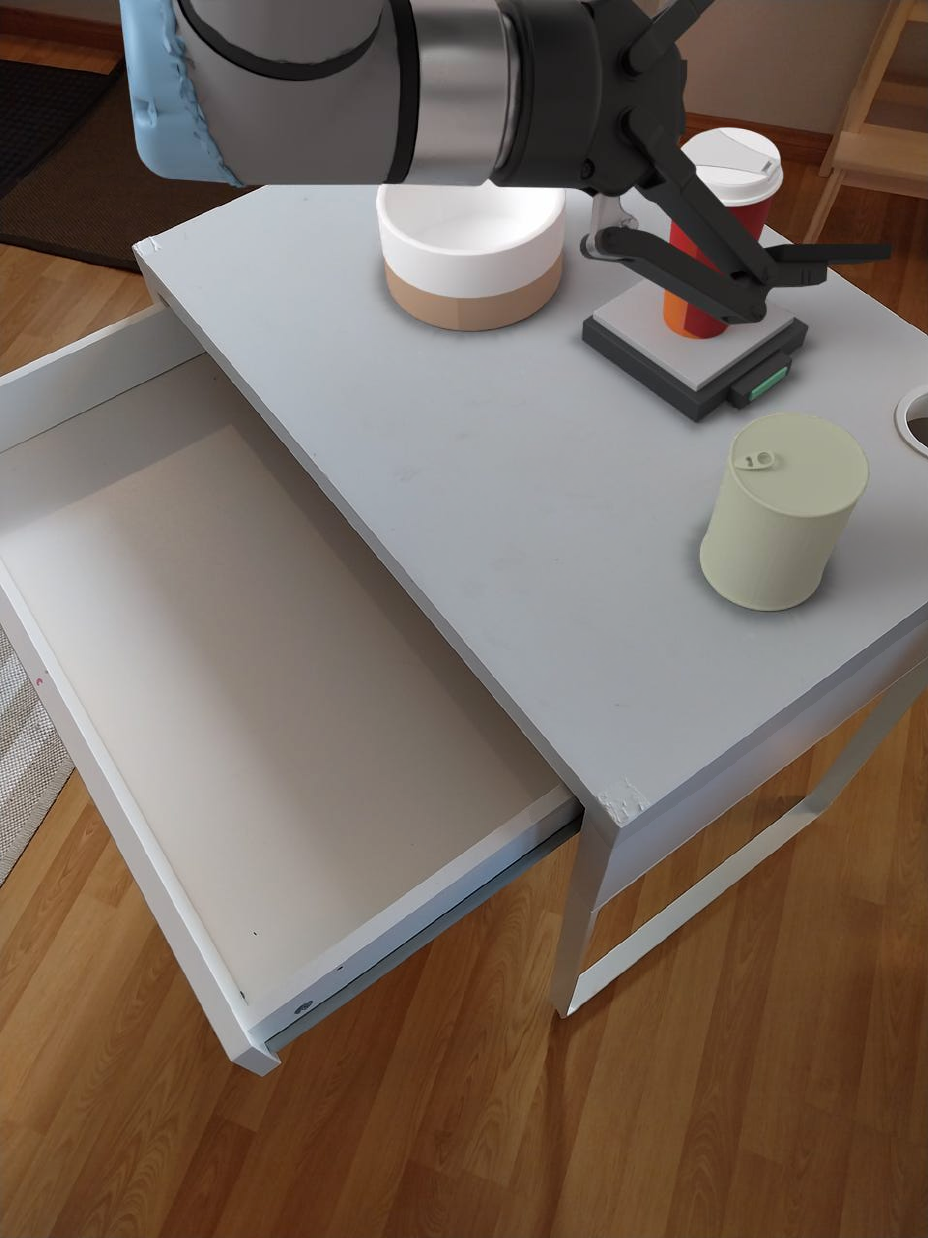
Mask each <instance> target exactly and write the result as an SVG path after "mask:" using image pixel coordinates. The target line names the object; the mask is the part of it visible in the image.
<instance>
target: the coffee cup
mask: <svg viewBox="0 0 928 1238" xmlns="http://www.w3.org/2000/svg"><path fill="white" fill-rule="evenodd" d="M680 149H681V150H682V151H683V152H684V153H685V154H686V155H687V156H688V158H689V159H690V160H691V161H692V162H693V163H694V165H695V166H696V169H697V170H696V174H697V176H698V177H699V178H700V179H701V180H702V181H703V182H704V183H705V185H706V186H707V187H708V188H709V189H710V190H711V191H712V192H713V193H714V194H715V196H716V197H717V198H718V199H719V200H720V201H721V202H722V203H723V204H724V205H725V207H726V208H727V209H728V210H729V211H730V212H731V213H732V214H733V215H734V216H735V217H736V219H737V220H738V221H739V222H740V223H741V224H742V225H743V226H744V227H745V228H746V230H747V231H748V232H749V233H750V234H751V235H752V236H753V237H754V238H755V239H756V241H757V242H758V243H759V241H760V238H761V236H762V232H763V230H764V227H765V224H766V222H767V217H768V214H769V211H770V209H771V205H772V201H773V199H774V195H775V193H776V192H777V191H778V190H779V189H780V187H781V185H782V184H783V179H784V171H783V168H782V164H781V163H782V162H781V161H782V160H781V155H780V151H779V150H778V148H777V146H776V145H775V143H773V141H772V140H770V139H769V138H767V137H766V136H764V135H762V134H761V133H757V132H756V131H752V130H748V129H744V128H739V127H718V128H713V129H709V130H706V131H703V132H700V133H698V134H695V135H694V136H693V137H691V138H690V139H689V140H688V141H687V142H686V143H684V144H683V145H682V146H681V147H680ZM670 220H671V219H670ZM669 230H670V231H669V240H668V243H670V244H672V245H673V246H675V247H677V248H678V249H680V250H682V251H683V252H685V253H686V254H688V255H690V256H691V257H693V258H695V259H696V260H698V261H700V262H701V263H703V264H705V265H706V266H708V267H710V268H711V269H713V270H715V271H716V272H718V273H720V274H721V275H723V276H725V275H724V274H723V273H722V272H721V271H720V270H719V269H718V268H717V267H716V266H715V265H714V264H713V263H712V262H711V261H710V260H709V258H708V257H707V256H706V255H705V254H704V253H703V252H702V251H701V250H700V249H699V248H698V247H697V246H696V245H695V244H694V243H693V242H692V241H691V240H690V238H689V237H688V236H687V235H686V234H685V233H684V232H683V231H682V230H681V229H680V228H679V227H678V226H677V225H676V224H675V223H674V222H673V221H672V220H671V221H670V229H669ZM725 277H726V276H725ZM726 278H727V277H726ZM663 317H664V321H665V323H666V324H667V326H668V327H669V328H670V329H671V330H672V331H674V332H675V333H677V334H679V335H681V336H683V337H687V338H691V339H708V338H712V337H715V336H718V335H720V334H722V333H723V332H724V331H725V330H726V329H727V328H728V327H729V325H727V324H724V323H722V322H721V321H719V320H717V319H715V318H714V317H712V316H710V315H709V314H707V313H705V312H703V311H702V310H700V309H698V308H696V307H695V306H693V305H691V304H690V303H688V302H686V301H684V300H683V299H681V298H679V297H678V296H676V295H674V294H672V293H671V292H669V291H667V290H665V292H664V305H663Z"/></svg>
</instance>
